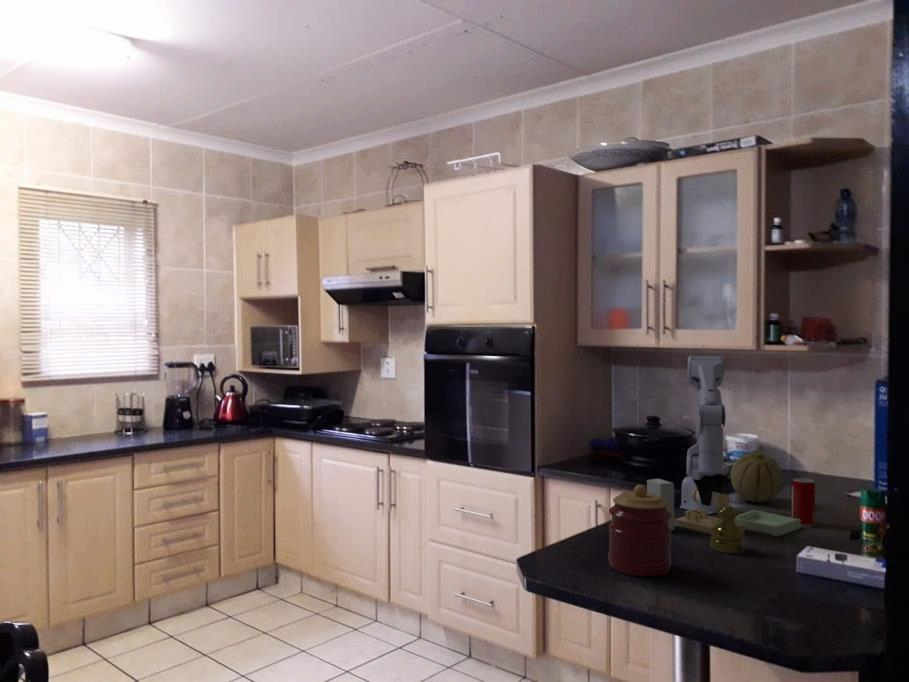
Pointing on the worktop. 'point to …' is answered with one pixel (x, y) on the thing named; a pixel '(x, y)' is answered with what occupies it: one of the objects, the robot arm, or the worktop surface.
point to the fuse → (716, 499)
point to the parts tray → (768, 522)
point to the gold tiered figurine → (727, 532)
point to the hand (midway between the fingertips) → (709, 503)
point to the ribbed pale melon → (756, 477)
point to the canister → (640, 534)
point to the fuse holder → (700, 521)
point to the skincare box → (663, 494)
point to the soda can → (803, 501)
